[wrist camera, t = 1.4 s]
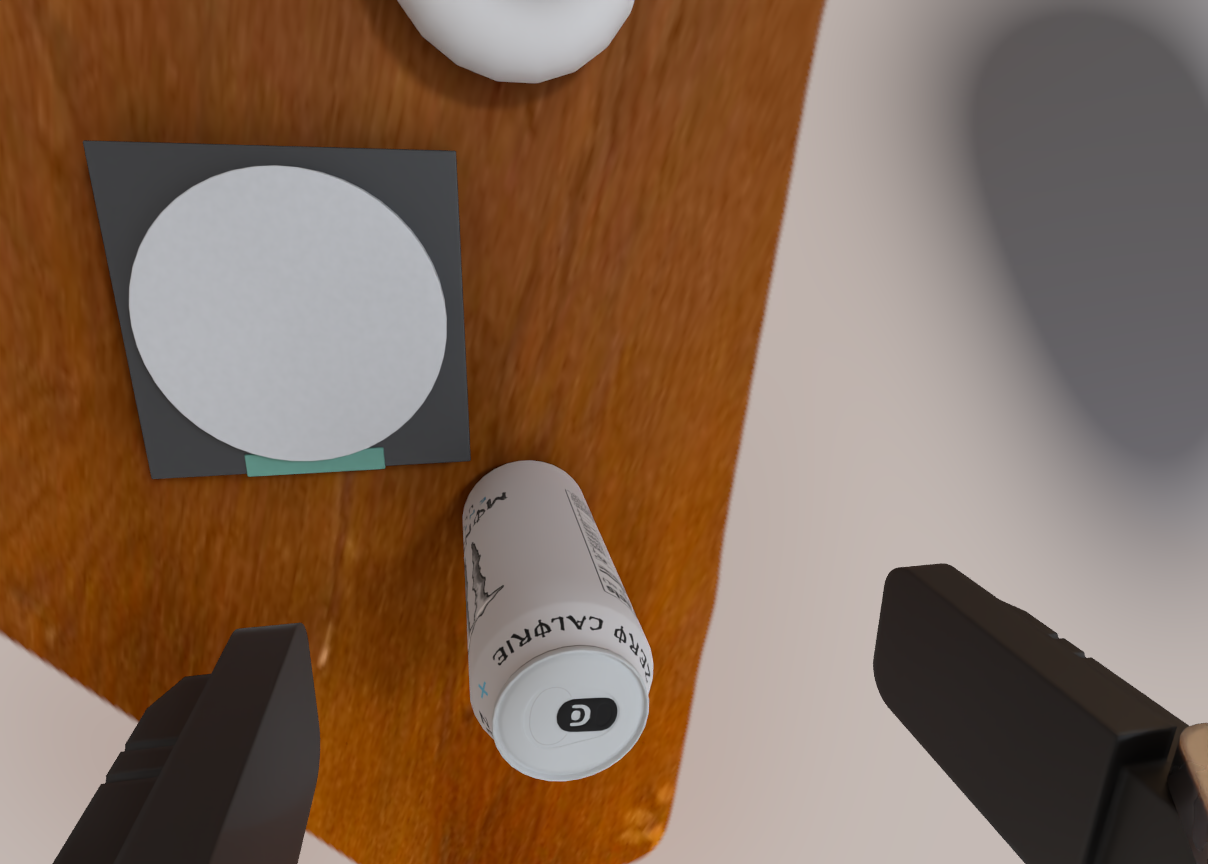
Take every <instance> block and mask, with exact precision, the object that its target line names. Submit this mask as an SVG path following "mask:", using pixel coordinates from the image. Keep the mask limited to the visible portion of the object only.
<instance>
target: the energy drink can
mask: <svg viewBox="0 0 1208 864" xmlns="http://www.w3.org/2000/svg"><path fill="white" fill-rule="evenodd" d="M463 540H464V564H465V588H466V611H467V635H468V659H469V683H470V701H471V704H472V707H473V711H474V714H475V716H476V717H477V719H478V721H479V723H480V724H481V726H482V727H483V729H484V730H485V731H486V732H487V733H488V734H489V735H490V736H491V737H492V738H493V739H494V741H495V744H496V747H497V749H498V750H499V752H500V754H501V755H502V757H503V758H504V759H505V760H506V761H507V762H508V763H509V764H510V765H511V766H512V767H514V768H515V769H517V770H518V771H520V772H521V773H523V774H526V775H528V776H531V777H533V778H536V779H542V780H547V781H569V780H576V779H581V778H584V777H588V776H591V775H594V774H596V773H598V772H600V771H602V770H604V769H607V768H608V767H610V766H611V765H613V764H614V763H616V762H617V761H619V760H620V759H621V758H622V757H623V756H624V755H625V754H626V753H627V752H629V751H630V750H631V748H632V747H633V746H634V744H635V743H636V742H637V740H638V739H639V737H640V735H641V733H642V731H643V729H644V727H645V724H646V721H647V717H648V713H649V698H648V693H649V690H650V686H651V683H652V678H653V659H652V653H651V649H650V646H649V644H648V642H647V639H646V637H645V635H644V633H643V630H642V628H641V626H640V624H639V621H638V619H637V617H636V614H635V612H634V610H633V608H632V605H631V603H630V601H629V599H628V596H627V594H626V592H625V589H624V587H623V585H622V583H621V580H620V578H619V576H618V574H617V571H616V569H615V567H614V564H613V562H612V560H611V558H610V555H609V553H608V551H607V549H606V546H605V544H604V542H603V539H602V537H601V535H600V533H599V530H598V528H597V526H596V524H595V521H594V519H593V517H592V514H591V512H590V510H589V508H588V505H587V503H586V501H585V499H584V496H583V494H582V492H581V490H580V488H579V486H578V485H577V483H576V482H575V481H574V479H573V478H572V477H570V476H569V475H568V474H567V473H566V472H565V471H563V470H561V469H559V468H558V467H556V466H554V465H551V464H548V463H545V462H540V461H533V460H527V461H516V462H512V463H508V464H505V465H502V466H500V467H498V468H496V469H494V470H492V471H491V472H489V473H488V474H487V475H485V476H484V477H483V478H482V479H481V480H480V481H479V482H478V483H477V484H476V485H475V486H474V488H473V489H472V491H471V492H470V494H469V496H468V498H467V501H466V503H465V506H464V511H463Z"/></svg>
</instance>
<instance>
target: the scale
mask: <svg viewBox="0 0 1208 864" xmlns="http://www.w3.org/2000/svg"><path fill="white" fill-rule="evenodd" d="M83 145H84V150H85V155H86V160H87V165H88V169H89V174H90V179H91V184H92V189H93V194H94V199H95V204H96V209H97V213H98V218H99V223H100V228H101V233H102V238H103V243H104V248H105V253H106V258H107V262H108V267H109V272H110V277H111V282H112V287H113V292H114V297H115V302H116V306H117V311H118V316H119V321H120V326H121V331H122V336H123V341H124V346H125V350H126V355H127V360H128V365H129V370H130V375H131V380H132V385H133V390H134V394H135V399H136V404H137V409H138V414H139V419H140V424H141V429H142V434H143V439H144V443H145V448H146V453H147V458H148V463H149V468H150V473H151V478H152V479H162V478H180V477H197V476H215V475H233V474H247V475H248V477H252V476H270V475H287V474H304V473H321V472H339V471H356V470H373V469H385V466H390V465H408V464H426V463H443V462H461V461H470V460H471V457H470V436H469V415H468V394H467V373H466V352H465V331H464V310H463V289H462V268H461V247H460V226H459V204H458V183H457V162H456V151H443V150H408V149H372V148H336V147H300V146H264V145H228V144H192V143H156V142H120V141H83Z"/></svg>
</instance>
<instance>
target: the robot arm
mask: <svg viewBox="0 0 1208 864" xmlns="http://www.w3.org/2000/svg"><path fill="white" fill-rule="evenodd" d="M873 670H874V677H875V681H876V684H877V688H878V690H879V693H880V695H881V697H882V699H883V701H884V702H885V704H886V705H887V706H888V708H890V710H891V711H892V712H893V713H894V714H895V716H896V717H897V718H898V719H899V720H900V721H901V722H902V724H903V725H904V726H905V727H906V728H907V729H908V730H909V731H910V733H911V734H912V735H913V736H914V737H915V738H916V739H917V741H918V742H919V743H920V744H921V745H922V746H923V748H924V749H925V750H926V751H927V752H928V753H929V754H930V755H931V757H932V758H933V759H934V760H935V761H936V762H937V763H938V765H939V766H940V767H941V768H942V769H943V770H944V771H945V773H946V774H947V775H948V776H949V777H950V778H951V779H952V781H953V782H954V783H955V784H956V785H957V786H958V787H959V788H960V790H961V791H962V792H963V793H964V794H965V795H966V796H967V798H968V799H969V800H970V801H971V802H972V803H973V805H975V807H976V808H977V809H978V810H979V811H980V812H981V814H982V815H983V816H984V817H985V818H986V819H987V820H988V821H989V823H990V824H991V825H992V826H993V827H994V828H995V830H996V831H997V832H998V833H999V834H1000V835H1001V836H1002V838H1003V839H1004V840H1005V841H1006V842H1007V843H1008V844H1009V845H1010V846H1011V848H1012V849H1013V850H1014V851H1015V852H1016V853H1017V855H1018V856H1019V857H1020V858H1021V859H1022V860H1023V862H1024V863H1025V864H1208V723H1201V724H1195V725H1192V726H1189V725H1187V724H1186V723H1184V722H1183V721H1181V720H1180V719H1179V718H1177V717H1175V716H1174V715H1173V714H1171V713H1170V712H1169V711H1167V710H1166V709H1164V708H1163V707H1161V706H1160V705H1159V704H1157V703H1156V702H1154V701H1152V700H1151V699H1150V698H1149V697H1147V696H1146V695H1144V694H1143V693H1141V692H1140V691H1139V690H1137V689H1136V688H1134V687H1133V686H1131V685H1130V684H1129V683H1127V682H1126V681H1124V680H1123V679H1121V678H1120V677H1118V676H1117V675H1116V674H1114V673H1113V672H1111V671H1110V670H1109V669H1107V668H1106V667H1104V666H1103V665H1102V664H1100V663H1099V662H1097V661H1095V660H1094V659H1093V658H1086V657H1085V655H1084V652H1083V651H1081V650H1080V649H1079V648H1077V647H1076V646H1074V645H1073V644H1071V643H1070V642H1069V641H1067V640H1066V639H1064V638H1062V639H1059V638H1058V635H1057V633H1056V632H1054V631H1053V630H1052V629H1050V628H1049V627H1047V626H1046V625H1044V624H1043V623H1042V622H1040V621H1039V620H1037V619H1036V618H1034V617H1033V616H1032V615H1030V614H1029V613H1027V612H1026V611H1024V610H1021V609H1019V608H1017V607H1015V606H1012V605H1010V604H1008V603H1006V602H1003V601H1001V600H999V599H998V598H996V597H995V596H993V595H992V594H991V593H989V592H988V591H986V590H985V589H984V588H982V587H981V586H979V585H978V584H976V583H975V582H974V581H972V580H971V579H969V578H968V577H967V576H965V575H964V574H962V573H961V572H960V571H958V570H957V569H956V568H954V567H952V566H951V565H948V564H933V565H921V566H911V567H900V568H895V569H893V570H892V571H891V572H890V573H889V574H888V576H887V578H886V581H885V585H884V592H883V599H882V605H881V612H880V619H879V625H878V632H877V640H876V646H875V652H874V660H873ZM319 759H320V731H319V721H318V713H317V706H316V698H315V690H314V682H313V675H312V667H311V659H310V651H309V643H308V637H307V632H306V629H305V627H304V625H303V624H302V623H294V624H283V625H273V626H262V627H252V628H241V629H236V630H235V631H234V632H233V633H232V635H231V637H230V639H229V641H228V643H227V645H226V646H225V648H224V650H223V652H222V654H221V656H220V658H219V660H218V662H217V664H216V666H215V668H214V670H213V672H212V674H207V675H197V676H188V677H184V678H183V679H182V680H181V681H179V682H178V683H177V684H176V685H175V686H173V687H172V688H171V689H170V690H169V691H167V692H166V693H165V694H164V695H163V696H162V697H160V698H159V699H158V700H157V701H156V702H154V703H153V704H152V705H151V706H150V707H148V708H147V710H146V711H145V713H144V715H143V716H142V718H141V719H140V721H139V723H138V724H137V726H136V728H135V729H134V731H133V733H132V734H131V736H130V738H129V739H128V741H127V742H126V744H125V751H124V752H120V754H119V756H118V757H117V759H116V760H115V762H114V764H113V765H112V767H111V769H110V770H109V772H108V774H107V775H106V783H105V784H101V785H100V787H99V788H98V790H97V792H96V793H95V795H94V797H93V798H92V800H91V802H90V803H89V805H88V807H87V808H86V810H85V811H84V813H83V815H82V816H81V818H80V820H79V821H78V823H77V824H76V826H75V828H74V830H73V831H72V833H71V834H70V836H69V838H68V839H67V841H66V843H65V844H64V846H63V848H62V849H61V851H60V853H59V854H58V856H57V857H56V859H55V861H54V863H53V864H297V863H298V859H299V854H300V851H301V846H302V842H303V837H304V834H305V829H306V825H307V821H308V817H309V812H310V808H311V804H312V800H313V795H314V791H315V787H316V782H317V777H318V770H319Z"/></svg>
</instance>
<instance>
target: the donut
mask: <svg viewBox="0 0 1208 864" xmlns="http://www.w3.org/2000/svg"><path fill="white" fill-rule="evenodd" d="M397 1H398V2H399V4H400V5H401V7H402V8H403V9H404V11H405V12H406V14H407V15H408V17H409V18H410V20H411V21H412V23H413V24H414V25H415V27H416V28H417V30H418V31H419V33H420V34H421V36H422V37H424V38H425V39H426V40H427V41H429V42H430V43H431V44H432V45H433V46H435V47H436V48H437V49H438V50H439V51H441V52H442V53H443V54H444V55H446V56H447V57H448V58H449V59H450V60H452V61H453V62H454V63H455V64H456V65H458V66H461V67H463V68H465V69H468V70H470V71H473V72H475V73H478V74H480V75H483V76H485V77H488V78H490V79H493V80H495V81H501V82H520V83H540V82H544V81H547V80H550V79H553V78H557V77H560V76H563V75H566V74H570V73H573V72H575V71H577V70H578V69H579V68H581V67H582V66H583V65H585V64H586V63H587V62H589V61H590V60H591V59H593V58H594V57H595V56H597V55H598V54H599V53H601V52H602V51H603V50H604V49H606V48H607V47H608V45H609V44H610V42H611V41H612V39H613V38H614V36H615V35H616V34H617V32H618V31H619V29H620V28H621V26H622V25H623V23H624V22H625V20H626V19H627V17H628V16H629V14H630V13H631V10H632V7H633V4H634V0H397Z"/></svg>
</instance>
